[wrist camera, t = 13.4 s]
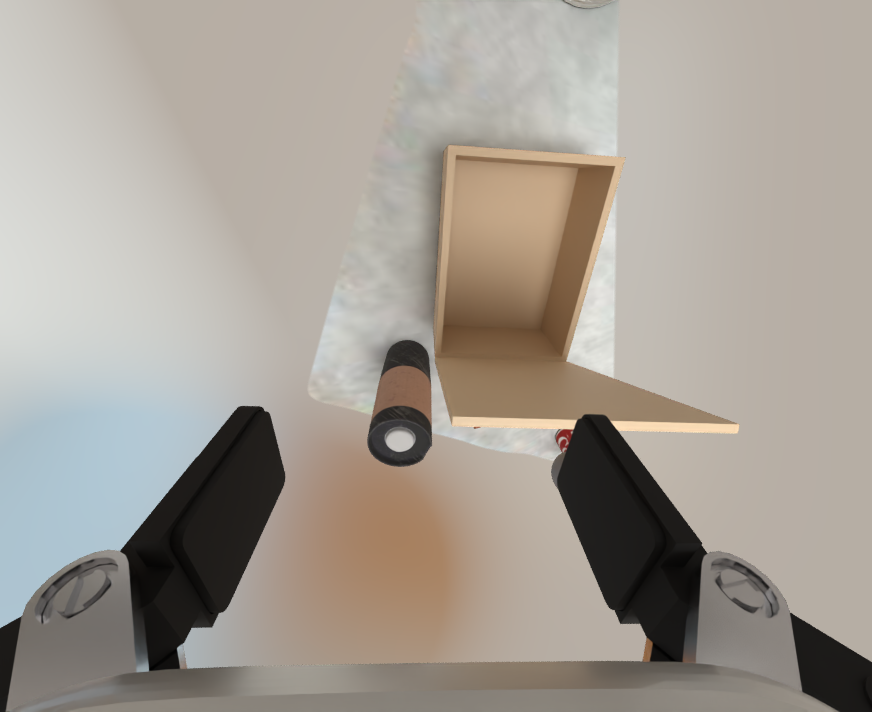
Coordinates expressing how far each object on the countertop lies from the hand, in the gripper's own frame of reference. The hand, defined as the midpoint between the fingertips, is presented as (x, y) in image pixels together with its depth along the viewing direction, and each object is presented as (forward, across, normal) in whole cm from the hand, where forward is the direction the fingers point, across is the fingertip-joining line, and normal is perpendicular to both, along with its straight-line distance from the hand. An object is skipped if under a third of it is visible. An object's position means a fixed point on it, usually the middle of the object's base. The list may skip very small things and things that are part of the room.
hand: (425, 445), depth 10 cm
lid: (+19, -11, +9) cm, 24 cm away
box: (+40, -11, +2) cm, 42 cm away
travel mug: (+40, +2, +20) cm, 45 cm away
